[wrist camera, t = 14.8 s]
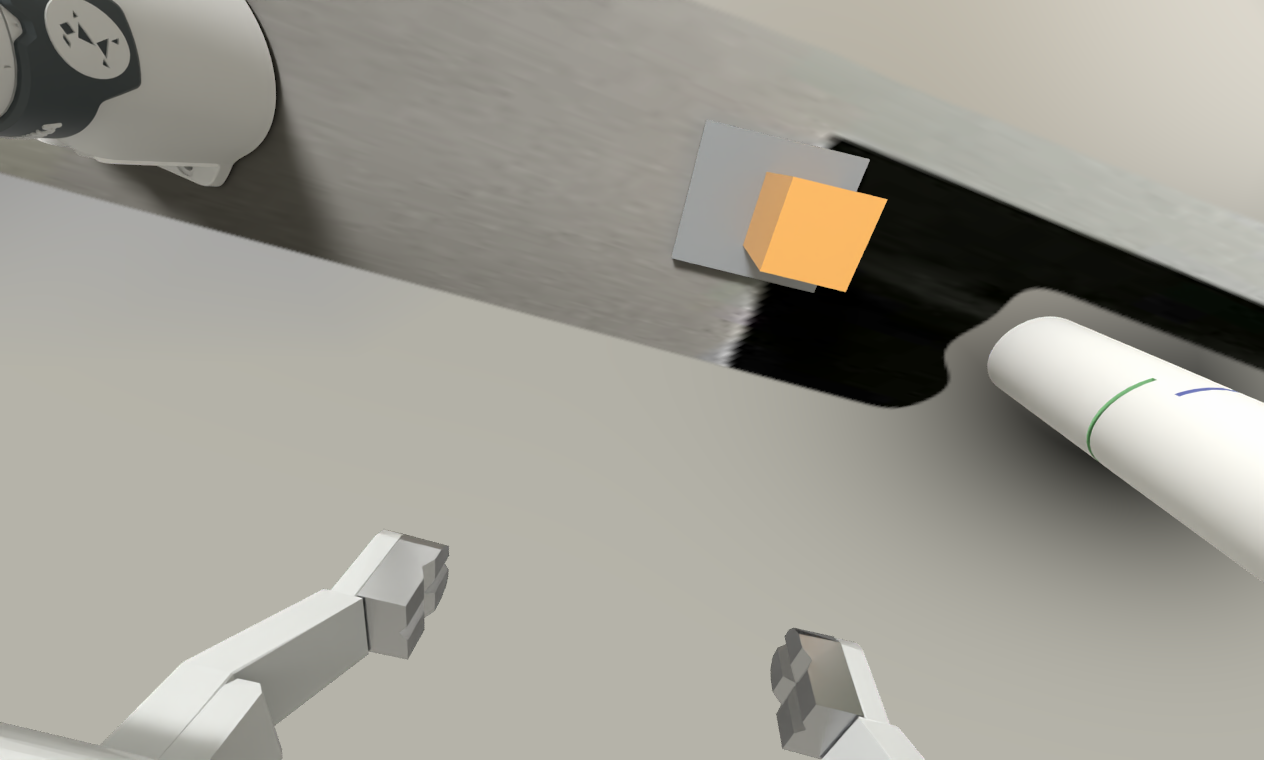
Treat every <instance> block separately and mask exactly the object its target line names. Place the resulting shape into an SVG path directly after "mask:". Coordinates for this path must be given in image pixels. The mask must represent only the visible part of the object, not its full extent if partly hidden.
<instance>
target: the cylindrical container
mask: <svg viewBox="0 0 1264 760" xmlns="http://www.w3.org/2000/svg"><path fill="white" fill-rule="evenodd" d="M987 370H988V375H989V377H990V380H991V381H992V382H993V384H994V385H996V386H997V387H998V388H999V389H1001V390H1002V391H1004V392H1005V393H1006V394H1008V395H1009V396H1010V397H1012V398H1013V399H1014V400H1016V401H1017V402H1018V403H1020V404H1021V405H1023V406H1024V407H1025V408H1027V409H1028V410H1029V411H1031V412H1032V413H1033V414H1035V415H1036V416H1038V417H1039V418H1040V419H1042V420H1043V421H1044V422H1046V423H1047V424H1048V425H1050V426H1051V427H1052V428H1054V429H1055V430H1056V431H1058V432H1059V433H1060V434H1062V435H1063V436H1064V437H1066V438H1067V439H1069V440H1070V441H1071V442H1073V443H1074V444H1075V445H1077V446H1078V447H1080V448H1081V449H1082V450H1083V451H1085V452H1086V453H1088V454H1089V455H1090V456H1092V457H1093V458H1094V459H1096V460H1097V461H1099V462H1100V463H1101V464H1102V465H1104V466H1105V467H1107V468H1108V469H1109V470H1111V471H1112V472H1113V473H1115V474H1116V475H1117V476H1119V477H1120V478H1122V479H1123V480H1124V481H1126V482H1127V483H1129V484H1130V485H1131V486H1132V487H1134V488H1135V489H1137V490H1138V491H1139V492H1141V493H1142V494H1143V495H1145V496H1146V497H1147V498H1149V499H1150V500H1152V501H1153V502H1154V503H1156V504H1157V505H1158V506H1160V507H1161V508H1162V509H1164V510H1165V511H1166V512H1168V513H1169V514H1171V515H1172V516H1173V517H1175V518H1176V519H1177V520H1179V521H1180V522H1182V523H1183V524H1184V525H1186V526H1187V527H1188V528H1190V529H1191V530H1192V531H1194V532H1195V533H1196V534H1198V535H1199V536H1201V537H1202V538H1203V539H1205V540H1206V541H1207V542H1209V543H1210V544H1211V545H1213V546H1214V547H1215V548H1217V549H1218V550H1220V551H1221V552H1222V553H1224V554H1225V555H1226V556H1228V557H1229V558H1230V559H1232V560H1233V561H1235V562H1236V563H1237V564H1239V565H1240V566H1242V567H1243V568H1244V569H1245V570H1247V571H1248V572H1249V573H1251V574H1252V575H1254V576H1255V577H1256V578H1258V579H1259V580H1261V581H1262V582H1263V583H1264V403H1263V402H1260V401H1258V400H1256V399H1253V398H1251V397H1248V396H1246V395H1244V394H1242V393H1239V392H1237V391H1234V390H1232V389H1230V388H1227V387H1225V386H1222V385H1220V384H1218V383H1215V382H1213V381H1211V380H1209V379H1206V378H1204V377H1202V376H1199V375H1197V374H1194V373H1192V372H1190V371H1188V370H1185V369H1183V368H1181V367H1178V366H1176V365H1173V364H1171V363H1169V362H1166V361H1164V360H1162V359H1159V358H1157V357H1155V356H1152V355H1150V354H1148V353H1145V352H1143V351H1140V350H1138V349H1136V348H1134V347H1131V346H1129V345H1126V344H1124V343H1122V342H1119V341H1117V340H1115V339H1112V338H1110V337H1107V336H1105V335H1103V334H1100V333H1098V332H1096V331H1093V330H1091V329H1088V328H1086V327H1084V326H1081V325H1079V324H1076V323H1074V322H1072V321H1070V320H1067V319H1065V318H1060V317H1040V318H1036V319H1032V320H1029V321H1026V322H1025V323H1022V324H1019V325H1018V326H1016V327H1014V328H1013V329H1011V330H1010V331H1009V332H1007V333H1006V334H1005V335H1004V336H1003V337H1002V338H1001V339H1000V340H999V341H998V342H997V343H996V345H995V346H994V348H993V349H992V351H991V353H990V356H989V359H988V364H987Z"/></svg>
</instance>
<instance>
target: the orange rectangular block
mask: <svg viewBox="0 0 1264 760" xmlns="http://www.w3.org/2000/svg"><path fill="white" fill-rule="evenodd" d="M886 202H887V199H883V198H879V197H875V196H871V195H867V194H863V193H859V192H855V191H851V190H846V189H842V188H838V187H834V186H830V185H826V184H822V183H818V182H814V181H810V180H806V179H801V178H797V177H793V176H788V175H782V174H776V173H771V172H767V173H766V176H765V179H764V182H763V185H762V188H761V191H760V194H759V197H758V200H757V203H756V207H755V210H754V213H753V216H752V219H751V222H750V225H749V228H748V231H747V234H746V237H745V240H744V243H743V246H744V248H745V249H746V251H747V252H748V254H749V255H750V257H751V258H752V260H753V261H754V263H755V264H756V266H757V267H758V269H759V270H760V271H761V272H766V273H770V274H774V275H778V276H782V277H786V278H790V279H794V280H798V281H803V282H807V283H811V284H815V285H819V286H823V287H827V288H831V289H835V290H839V291H844V292H846V290H847V288H848V286H849V283H850V281H851V279H852V277H853V274H854V272H855V270H856V268H857V266H858V263H859V261H860V259H861V257H862V255H863V252H864V250H865V248H866V246H867V244H868V241H869V239H870V237H871V235H872V233H873V230H874V228H875V226H876V224H877V221H878V219H879V217H880V215H881V213H882V210H883V208H884V206H885V204H886Z"/></svg>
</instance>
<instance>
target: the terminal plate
mask: <svg viewBox="0 0 1264 760" xmlns="http://www.w3.org/2000/svg"><path fill="white" fill-rule="evenodd" d="M869 161H870V159H866V158H862V157H858V156H854V155H850V154H845V153H841V152H837V151H833V150H829V149H825V148H821V147H817V146H813V145H809V144H805V143H801V142H797V141H792V140H788V139H784V138H780V137H776V136H772V135H768V134H764V133H760V132H756V131H752V130H748V129H744V128H739V127H735V126H731V125H727V124H723V123H719V122H715V121H711V120H706V123H705V127H704V131H703V135H702V139H701V143H700V146H699V150H698V154H697V158H696V162H695V166H694V170H693V174H692V178H691V182H690V186H689V190H688V194H687V198H686V201H685V205H684V209H683V213H682V217H681V221H680V225H679V229H678V233H677V237H676V241H675V245H674V249H673V253H672V257H671V258H673V259H677V260H681V261H685V262H689V263H693V264H697V265H701V266H705V267H710V268H714V269H718V270H722V271H726V272H730V273H734V274H738V275H742V276H746V277H751V278H755V279H759V280H763V281H767V282H771V283H775V284H779V285H783V286H787V287H791V288H796V289H800V290H804V291H808V292H812V293H814V292H815V289H816V287H817V285H815V284H811V283H807V282H803V281H798V280H794V279H790V278H786V277H782V276H778V275H774V274H770V273H766V272H761V271H760V270H759V269H758V267H757V266H756V264H755V263H754V261H753V260H752V258H751V257H750V255H749V254H748V252H747V251H746V249H745V248H744V246H743V243H744V240H745V237H746V234H747V231H748V228H749V225H750V222H751V219H752V216H753V213H754V210H755V207H756V203H757V200H758V197H759V194H760V191H761V188H762V185H763V182H764V179H765V176H766V173H767V172H771V173H776V174H782V175H788V176H793V177H797V178H801V179H806V180H810V181H814V182H818V183H822V184H826V185H830V186H834V187H838V188H842V189H846V190H851V191H855V192H857V189H858V187H859V184H860V182H861V180H862V177H863V175H864V172H865V170H866V168H867V165H868V163H869Z"/></svg>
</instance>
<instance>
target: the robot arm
mask: <svg viewBox="0 0 1264 760" xmlns="http://www.w3.org/2000/svg"><path fill="white" fill-rule="evenodd" d="M275 104H276V84H275V76H274V70H273V65H272V60H271V57H270V53H269V50H268V47H267V44H266V41H265V39H264V36H263V34H262V31H261V29H260V27H259V25H258V23H257V21H256V19H255V17H254V15H253V13H252V11H251V9H250V8H249V6H248V4H247V3H246V1H245V0H0V137H1V138H6V139H34V138H37V139H38V140H40V141H42V142H45V143H48V144H52V145H57V146H62V147H71V148H73V149H74V151H75V153H76V154H78V155H81V156H84V157H89V158H95V159H96V160H97V161H99V162H103V163H109V164H128V165H156V166H159V167H161V168H163V169H165V170H168V171H170V172H172V173H174V174H177V175H179V176H181V177H184V178H186V179H188V180H190V181H193V182H195V183H197V184H199V185H202V186H213V187H218V186H220V185H222V184H223V183H224V182H225V180H226V178H227V177H228V175H229V173H230V170H231V168H232V166H233V164H234V163H235V162H236V161H237V160H239V159H240V158H242V157H243V156H245V155H247V154H249V153H250V152H252V151H253V150H254V149H256V148H257V147H258V146H259V145H260V144H261V142H262V141H263V140H264V138H265V137H266V135H267V133H268V131H269V129H270V127H271V124H272V121H273V117H274V112H275ZM192 166H193V167H192ZM448 556H449V546H447V545H443V544H439V543H435V542H432V541H427V540H424V539H420V538H416V537H413V536H409V535H406V534H402V533H397V532H393V531H389V530H385V529H383V530H382V531H380V532H379V533H378V534H376V535H375V536H374V538H373V539H372V540H371V541H370V542H369V544H368V545H367V546H366V547H365V549H364V550H363V551H362V552H361V553H360V555H359V556H358V557H357V558H356V560H355V561H354V562H353V563H352V565H351V566H350V567H349V568H348V569H347V571H346V572H345V573H344V574H343V576H342V577H341V578H340V579H339V580H338V581H337V583H336V584H335V585H334V586H333V588H332V589H331V590H328V589H322V590H320V591H318V592H316V593H315V594H312V595H311V596H309V597H307V598H305V599H303V600H301V601H299V602H297V603H295V604H293V605H292V606H289V607H288V608H286V609H284V610H282V611H280V612H278V613H276V614H274V615H272V616H271V617H268V618H267V619H265V620H263V621H261V622H259V623H257V624H255V625H253V626H251V627H249V628H247V629H245V630H243V631H242V632H240V633H238V634H236V635H234V636H232V637H230V638H228V639H226V640H224V641H222V642H221V643H218V644H216V645H215V646H213V647H211V648H209V649H207V650H205V651H203V652H201V653H199V654H197V655H195V656H193V657H192V658H190V659H188V660H186V661H184V662H182V663H181V664H180V665H179V666H178V667H177V668H176V669H175V670H174V671H173V672H172V673H171V674H170V675H169V676H168V677H167V678H166V679H165V681H163V682H162V683H161V684H160V685H159V686H158V687H157V688H156V689H155V690H154V691H153V692H152V693H151V694H150V695H149V696H148V698H146V699H145V700H144V701H143V702H142V703H141V704H140V705H139V706H138V707H137V708H136V709H135V710H134V711H133V712H132V713H131V714H130V716H129V717H127V719H125V721H123V722H122V724H121V725H119V726H118V727H117V728H116V730H114V731H113V732H112V734H111V735H109V737H107V739H105V740H104V741H103V743H102V744H101V745H96V744H91V743H87V742H83V741H79V740H74V739H70V738H66V737H62V736H58V735H53V734H49V733H45V732H41V731H36V730H32V729H28V728H23V727H19V726H15V725H11V724H6V723H2V722H0V760H281V759H282V748H281V745H280V742H279V739H278V736H277V733H276V730H275V727H274V726H275V725H276V724H277V723H279V722H280V721H281V720H283V719H284V718H285V717H287V716H288V715H289V714H291V713H292V712H293V711H295V710H296V709H297V708H298V707H300V706H301V705H302V704H304V703H305V702H306V701H308V700H309V699H310V698H312V697H313V696H314V695H316V694H317V693H318V692H319V691H321V690H322V689H323V688H325V687H326V686H327V685H329V684H330V683H331V682H333V681H334V680H335V679H336V678H338V677H339V676H340V675H342V674H343V673H344V672H345V671H347V670H348V669H350V668H351V667H352V666H353V665H355V664H356V663H357V662H359V661H360V660H361V659H363V658H364V657H365V656H367V655H368V651H370V652H375V653H379V654H384V655H389V656H394V657H399V658H403V659H408V658H409V656H410V654H411V653H412V651H413V649H414V647H415V646H416V644H417V642H418V640H419V638H420V637H421V635H422V633H423V631H424V618H425V617H426V616H428V615H429V614H431V613H432V612H434V611H435V609H436V607H437V605H438V604H439V602H440V600H441V598H442V595H443V592H444V589H445V587H446V584H447V579H448V568H447V566H446V565H445V564H444V563H445V561H446V560H447V558H448ZM785 640H786V644H785V645H783V646H781V647H778V648H777V650H776V652H775V654H774V655H773V659H772V664H771V683H772V690H773V693H774V695H775V696H776V697H777V699H778V700H779V702H780V703H781V706H780V708H779V710H778V712H777V714H776V715H777V720H778V726H779V732H780V738H781V744H782V749H785V750H789V751H792V752H796V753H800V754H804V755H807V756H811V757H814V758H818V759H822V760H925V759H924V758H923V757H922V755H921V754H920V753H919V752H918V750H917V749H916V748H915V747H914V746H913V745H912V743H911V742H910V741H909V740H908V738H907V737H906V736H905V735H904V734H903V732H902V731H901V730H900V729H899V728H898V726H896V725H892V724H890V722H889V719H888V717H887V714H886V711H885V708H884V706H883V703H882V700H881V698H880V695H879V692H878V689H877V687H876V684H875V681H874V679H873V676H872V673H871V671H870V668H869V665H868V663H867V660H866V657H865V654H864V652H863V649H862V648H861V646H860V645H859V644H858V643H855V642H852V641H847V640H843V639H838V638H834V637H832V636H828V635H824V634H819V633H815V632H810V631H805V630H801V629H797V628H792V629H790V630H789V631H788V632H787V634H786V635H785Z"/></svg>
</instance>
